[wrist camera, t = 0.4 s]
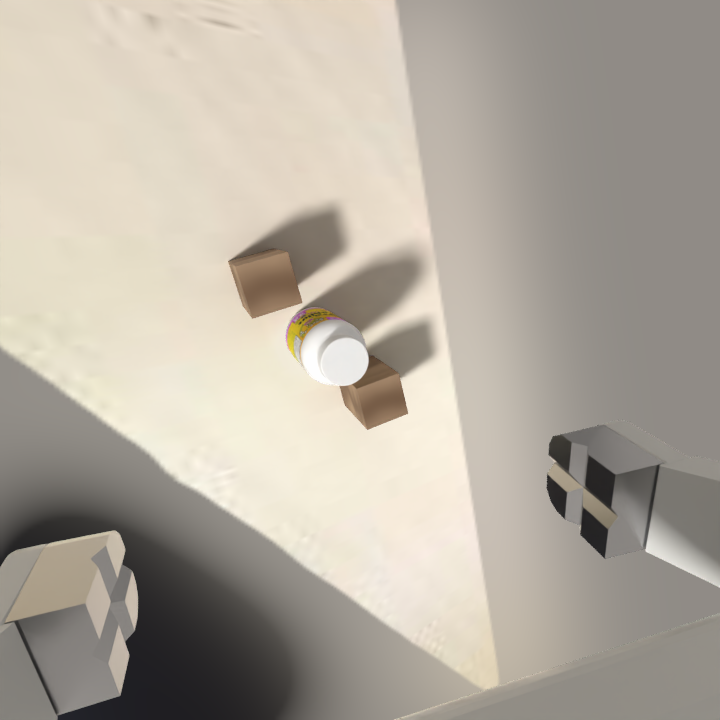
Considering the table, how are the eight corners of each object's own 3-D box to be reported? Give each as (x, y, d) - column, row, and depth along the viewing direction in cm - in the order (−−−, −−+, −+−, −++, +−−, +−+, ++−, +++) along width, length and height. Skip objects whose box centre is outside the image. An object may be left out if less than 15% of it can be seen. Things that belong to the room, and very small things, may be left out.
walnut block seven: (334, 368, 58) (356, 388, 51) (373, 355, 59) (400, 372, 52) (345, 405, 60) (367, 429, 52) (382, 391, 61) (409, 413, 54)
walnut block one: (228, 261, 51) (235, 266, 44) (274, 248, 52) (289, 251, 45) (243, 306, 53) (252, 318, 45) (287, 292, 54) (303, 302, 47)
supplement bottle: (338, 303, 56) (379, 323, 44) (340, 358, 58) (380, 391, 46) (281, 308, 54) (308, 330, 42) (285, 364, 56) (312, 401, 44)
